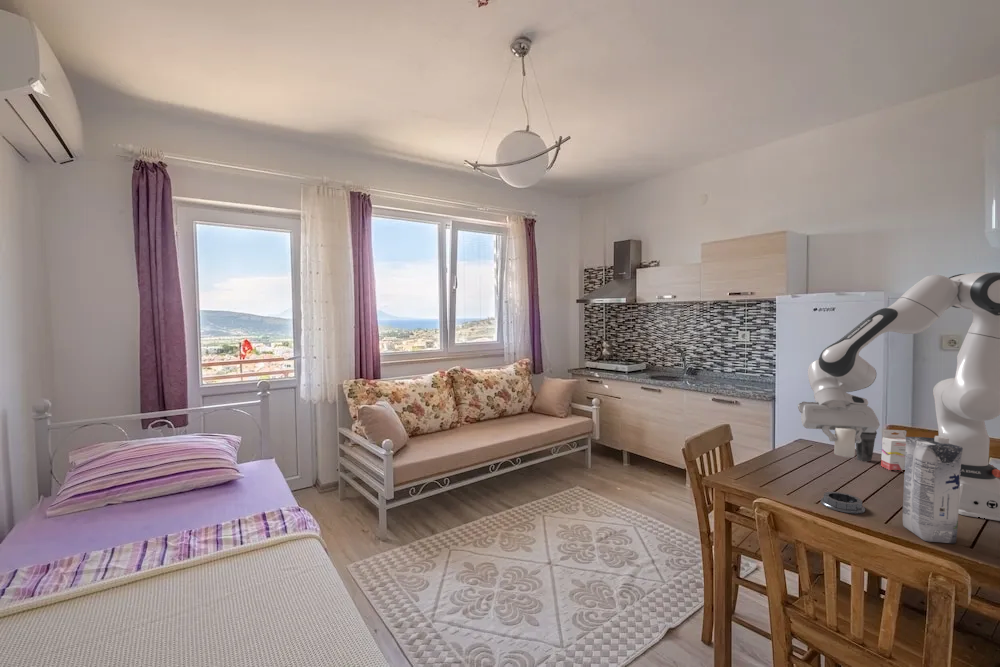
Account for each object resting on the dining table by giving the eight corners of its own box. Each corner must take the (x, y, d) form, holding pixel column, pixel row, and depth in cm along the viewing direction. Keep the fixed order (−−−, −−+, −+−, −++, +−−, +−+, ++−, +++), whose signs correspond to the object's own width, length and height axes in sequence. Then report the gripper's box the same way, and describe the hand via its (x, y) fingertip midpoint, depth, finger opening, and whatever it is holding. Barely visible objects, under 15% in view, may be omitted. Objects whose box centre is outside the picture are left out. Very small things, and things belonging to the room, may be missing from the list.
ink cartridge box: (890, 471, 172) (891, 432, 171) (880, 466, 177) (882, 429, 176) (914, 472, 171) (916, 433, 170) (904, 467, 176) (906, 429, 175)
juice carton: (922, 543, 119) (927, 440, 117) (896, 524, 129) (901, 430, 128) (963, 546, 117) (969, 442, 116) (933, 527, 127) (938, 432, 126)
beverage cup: (848, 457, 189) (850, 409, 188) (866, 457, 188) (868, 409, 187) (861, 462, 181) (863, 412, 180) (880, 463, 181) (882, 413, 180)
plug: (854, 454, 141) (855, 428, 140) (854, 458, 137) (855, 432, 137) (834, 451, 144) (835, 426, 144) (833, 455, 140) (834, 429, 140)
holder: (865, 505, 142) (865, 496, 142) (864, 517, 134) (864, 508, 133) (822, 495, 149) (822, 488, 149) (818, 507, 141) (819, 498, 140)
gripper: (799, 396, 149) (810, 433, 140) (873, 399, 144) (889, 438, 135) (793, 406, 153) (804, 443, 145) (865, 410, 148) (880, 449, 139)
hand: (845, 441), depth 140 cm, fingers closed on plug, 5 cm apart
